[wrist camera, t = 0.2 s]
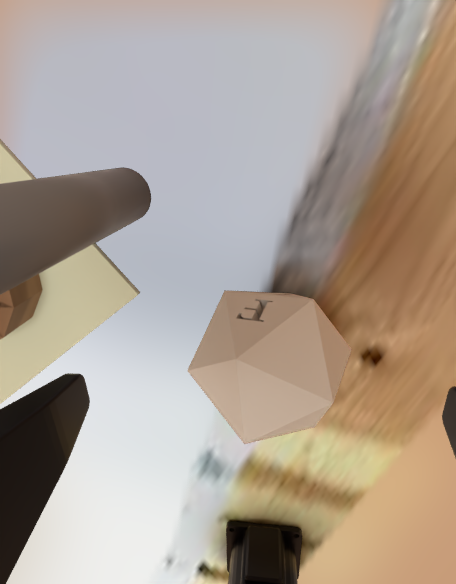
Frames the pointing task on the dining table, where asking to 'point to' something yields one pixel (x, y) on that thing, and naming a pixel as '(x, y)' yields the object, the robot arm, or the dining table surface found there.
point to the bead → (19, 305)
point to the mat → (59, 303)
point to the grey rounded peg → (63, 218)
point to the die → (270, 363)
